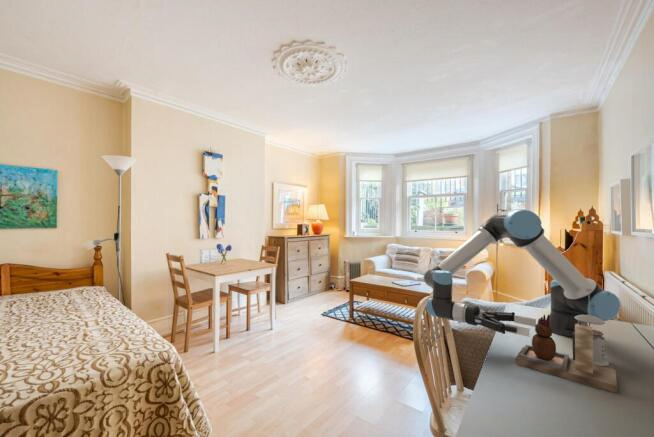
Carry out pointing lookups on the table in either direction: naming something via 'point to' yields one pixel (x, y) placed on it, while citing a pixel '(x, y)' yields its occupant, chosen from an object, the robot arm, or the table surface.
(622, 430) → the table surface
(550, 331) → the wooden figurine
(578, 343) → the wooden tray stand
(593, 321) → the french press
